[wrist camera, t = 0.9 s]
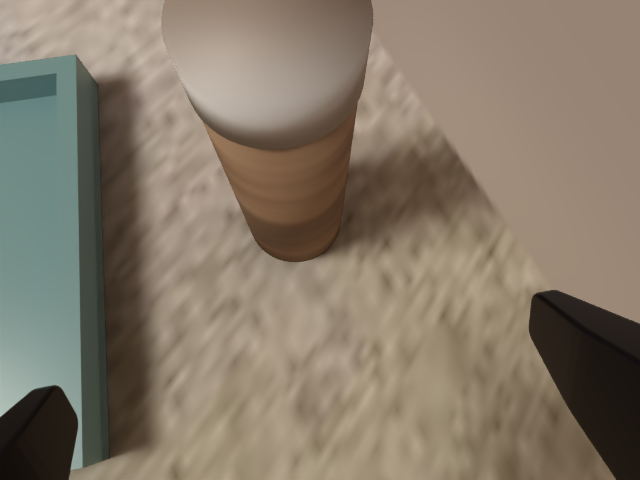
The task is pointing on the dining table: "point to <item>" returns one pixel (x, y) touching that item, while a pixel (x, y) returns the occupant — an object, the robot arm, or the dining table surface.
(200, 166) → the dining table surface
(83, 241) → the tray
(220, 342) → the dining table surface
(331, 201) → the shaker
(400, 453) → the dining table surface
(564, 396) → the robot arm
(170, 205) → the dining table surface
